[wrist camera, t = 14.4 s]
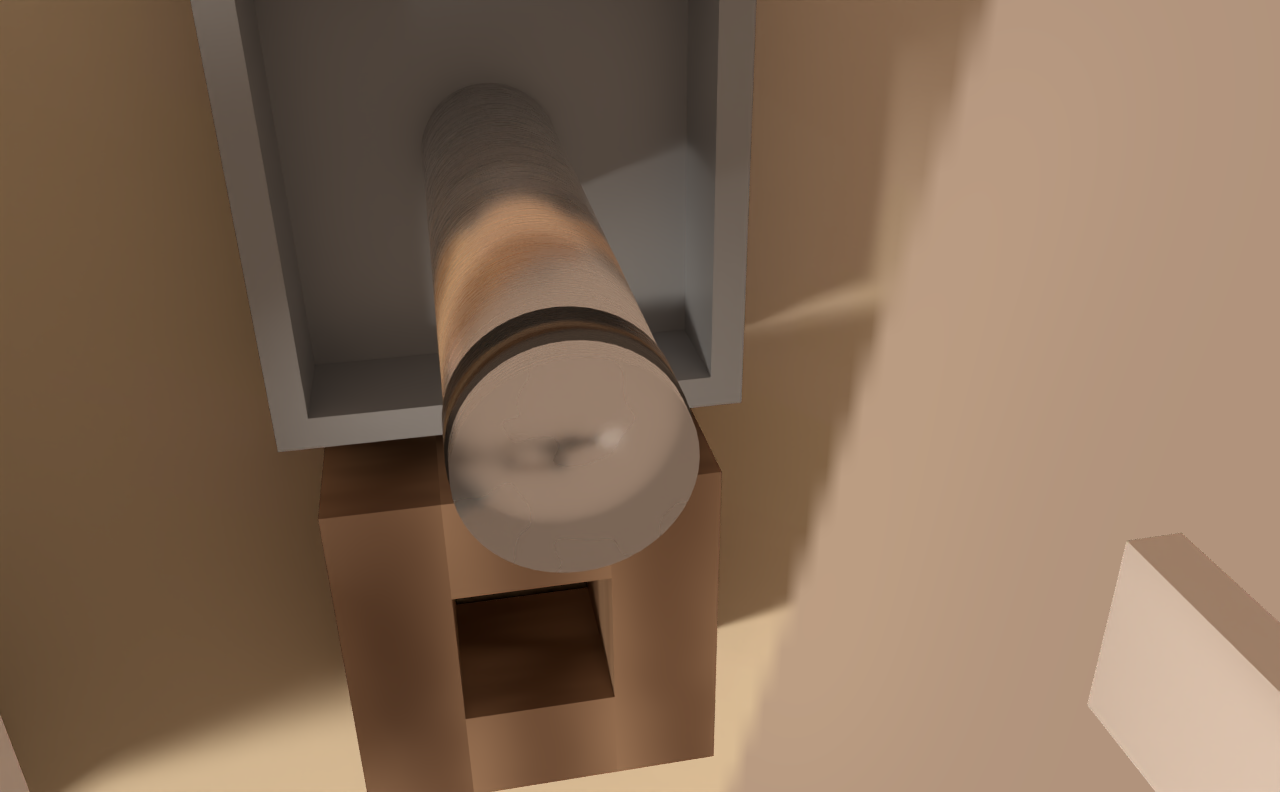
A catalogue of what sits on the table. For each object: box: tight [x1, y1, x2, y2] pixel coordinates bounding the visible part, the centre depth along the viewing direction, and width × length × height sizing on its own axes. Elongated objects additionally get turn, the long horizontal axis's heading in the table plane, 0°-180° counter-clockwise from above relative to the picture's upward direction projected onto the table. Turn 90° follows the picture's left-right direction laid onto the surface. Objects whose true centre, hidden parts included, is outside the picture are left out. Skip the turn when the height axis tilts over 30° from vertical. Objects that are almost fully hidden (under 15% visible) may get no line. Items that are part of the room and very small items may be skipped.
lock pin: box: [422, 83, 700, 573], centre depth 26 cm, size 4×4×18 cm
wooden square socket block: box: [318, 408, 722, 792], centre depth 39 cm, size 12×12×6 cm
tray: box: [190, 0, 756, 452], centre depth 32 cm, size 14×15×4 cm
